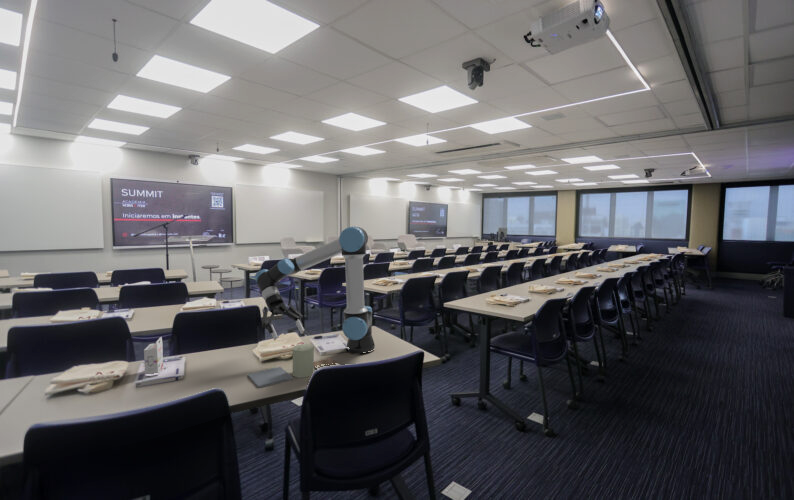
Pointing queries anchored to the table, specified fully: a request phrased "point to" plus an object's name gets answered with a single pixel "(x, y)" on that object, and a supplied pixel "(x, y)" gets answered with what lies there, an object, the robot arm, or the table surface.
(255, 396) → the table surface
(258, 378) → the grey mat
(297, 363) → the can
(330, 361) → the walnut coaster
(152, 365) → the ink cartridge box
